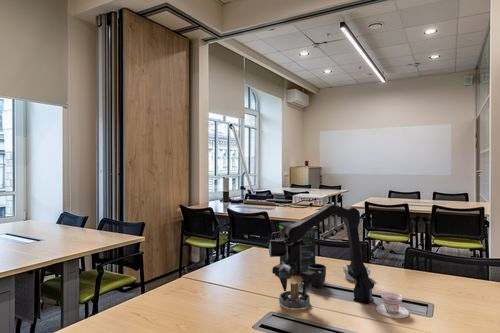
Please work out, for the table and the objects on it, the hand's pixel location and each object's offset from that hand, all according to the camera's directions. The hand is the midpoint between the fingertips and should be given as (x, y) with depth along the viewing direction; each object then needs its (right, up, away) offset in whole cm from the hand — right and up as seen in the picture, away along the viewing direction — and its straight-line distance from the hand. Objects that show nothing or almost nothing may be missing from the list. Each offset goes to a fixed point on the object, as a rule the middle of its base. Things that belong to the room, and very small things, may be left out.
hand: (294, 293), depth 140 cm
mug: (+13, -4, +18) cm, 22 cm away
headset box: (+7, -4, +47) cm, 48 cm away
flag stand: (+35, -4, +31) cm, 47 cm away
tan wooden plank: (0, -4, 0) cm, 4 cm away
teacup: (+37, -4, -8) cm, 38 cm away
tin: (0, -4, 0) cm, 4 cm away
